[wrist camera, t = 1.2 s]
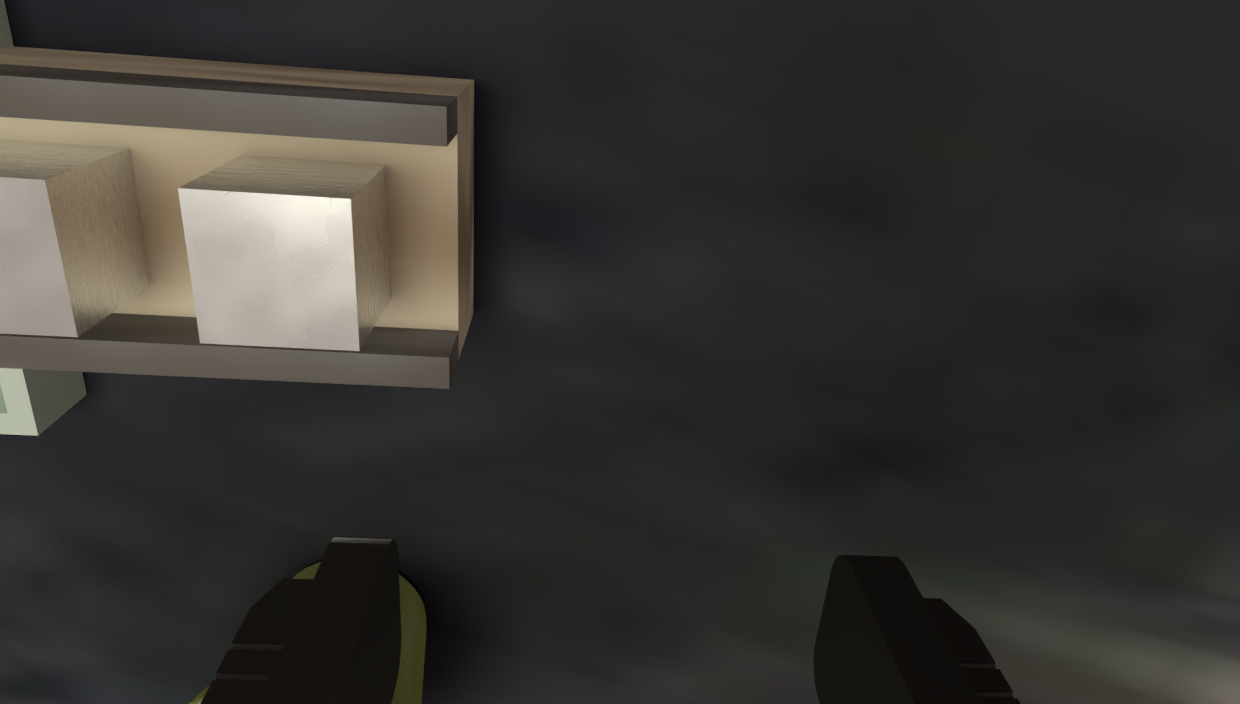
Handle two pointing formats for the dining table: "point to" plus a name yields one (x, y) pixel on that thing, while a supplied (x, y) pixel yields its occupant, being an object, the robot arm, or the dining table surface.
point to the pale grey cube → (67, 236)
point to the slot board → (271, 127)
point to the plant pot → (412, 642)
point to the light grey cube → (288, 252)
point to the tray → (27, 393)
